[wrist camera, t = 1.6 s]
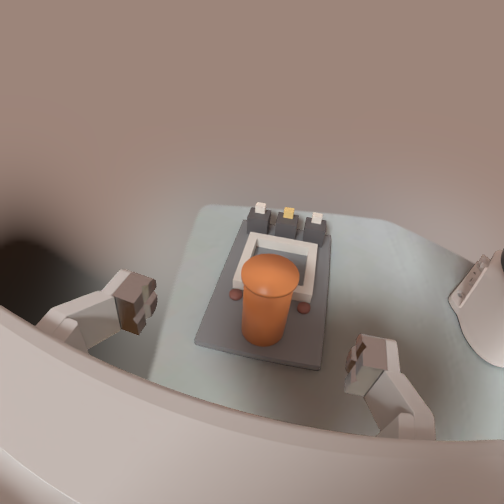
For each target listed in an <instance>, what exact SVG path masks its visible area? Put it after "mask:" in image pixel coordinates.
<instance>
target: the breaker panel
mask: <svg viewBox="0 0 504 504" xmlns="http://www.w3.org/2000/svg"><path fill="white" fill-rule="evenodd" d="M293 214H294V208H287V207H285V209H284V213H282V212H279V214H278V218H277V221H276V225H272V224H270V217H271V210H266V204H265V203H259V202H257V204H256V208H253V207H252V208H251V210H250V212H249V215H248V217H247V220H243V222H242V224H241V227H240V229H239V231H238V234H237V236H236V239H235V241H234V243H233V246H232V248H231V251H230V253H229V255H228V258H227V260H226V263H225V265H224V268H223V270H222V272H221V275H220V277H219V280H218V282H217V285H216V287H215V290H214V292H213V294H212V297H211V299H210V302H209V304H208V307H207V309H206V312H205V314H204V317H203V319H202V322H201V324H200V327H199V329H198V332H197V334H196V337H195V339H194V341H195V345H199V346H203V347H207V348H211V349H215V350H219V351H223V352H227V353H232V354H236V355H241V356H245V357H250V358H254V359H259V360H264V361H269V362H274V363H279V364H284V365H289V366H295V367H301V368H306V369H312V370H319V368H320V366H321V358H322V349H323V339H324V329H325V318H326V306H327V292H328V278H329V261H330V240H331V235H325V232H326V221H325V220H322V214H320V213H315V212H313V215H312V218H309V217H307V218H306V223H305V228H304V230H299V229H296V228H297V223H298V217H299V215H293ZM260 254H276V255H280V256H283V257H285V258H287V259H289V260H290V261H291V262H293V263H294V264H295V266H296V267H297V269H298V271H299V276H300V277H299V282H298V285H297V287H296V289H295V290H294V291H293V295H292V299H291V303H290V308H289V312H288V316H287V320H286V325H285V329H284V333H283V336H282V338H281V339H280V340H279V341H278V342H277V343H276V344H274V345H271V346H267V347H261V346H256V345H253V344H251V343H250V342H248V341H247V340H246V339H245V338H244V336H243V334H242V329H241V327H242V309H243V291H244V284H243V282H242V279H241V270H242V267H243V265H244V263H245V262H246V261H247V260H248V259H250V258H251V257H253V256H256V255H260Z"/></svg>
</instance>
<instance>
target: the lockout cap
mask: <svg viewBox="0 0 504 504" xmlns="http://www.w3.org/2000/svg"><path fill="white" fill-rule="evenodd" d="M299 277H300V276H299V271H298V269H297V267H296V266H295V264H294V263H293V262H291V261H290V260H289V259H287V258H285V257H283V256H280V255H276V254H260V255H256V256H253V257H251V258H250V259H248V260H247V261H246V262H245V263H244V265H243V267H242V270H241V279H242V282H243V284H244V291H243V309H242V327H241V329H242V334H243V336H244V338H245V339H246V340H247V341H248V342H250V343H251V344H253V345H256V346H261V347H267V346H271V345H274V344H276V343H277V342H278V341H279V340H280V339H281V338H282V336H283V333H284V329H285V325H286V320H287V316H288V312H289V308H290V303H291V299H292V295H293V291H294V290H295V289H296V287H297V285H298V282H299Z"/></svg>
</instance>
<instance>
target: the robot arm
mask: <svg viewBox="0 0 504 504" xmlns="http://www.w3.org/2000/svg"><path fill="white" fill-rule="evenodd" d="M155 288H156V280H154V279H152V278H149V277H146V276H144V275H141V274H138V273H135V272H131V271H128V270H125V269H121V270H120V271H118V273H117V274H116V275H115V276H114V277H113V278H112V279H111V281H110V282H109V283H108V284H107V285H106V286H105V287H104V289H102V291H101V292H100V291H96V292H93V293H91V294H88V295H85V296H82V297H80V298H77V299H74V300H72V301H69V302H67V303H64V304H61V305H59V306H56V307H53V308H51V309H50V311H49V312H48V313H47V314H46V315H45V316H44V317H43V318H42V320H41V321H40V322H39V323H38V324H37V325H36V326H34V325H32V324H30V323H29V322H27V321H25V320H23V319H22V318H20V317H18V316H17V315H15V314H13V313H12V312H10V311H9V310H7V309H6V308H4V307H2V306H1V305H0V504H504V440H477V441H436V434H435V422H434V415H433V413H432V412H431V410H430V409H429V408H428V406H427V405H426V403H425V402H424V401H423V399H422V398H421V397H420V395H419V394H418V392H417V391H416V390H415V388H414V387H413V386H412V384H411V383H410V381H409V380H408V379H407V377H406V376H405V375H404V374H403V373H400V364H399V355H398V347H397V342H396V340H391V339H386V338H381V337H376V336H371V335H366V334H359V335H358V337H357V339H356V345H355V346H353V347H352V348H351V350H350V352H349V354H348V357H347V361H346V371H347V373H348V375H347V377H346V378H345V393H349V394H354V395H359V396H364V399H365V401H366V403H367V405H368V407H369V409H370V411H371V413H372V415H373V417H374V419H375V421H376V423H377V425H378V427H379V429H380V431H381V432H380V433H379V434H378V435H377V436H375V437H374V436H365V435H357V434H350V433H343V432H336V431H330V430H324V429H318V428H313V427H307V426H302V425H297V424H292V423H288V422H283V421H279V420H274V419H270V418H266V417H262V416H258V415H254V414H250V413H246V412H242V411H239V410H235V409H231V408H228V407H225V406H221V405H218V404H214V403H211V402H208V401H205V400H202V399H199V398H196V397H193V396H190V395H187V394H184V393H181V392H178V391H175V390H172V389H170V388H167V387H164V386H161V385H159V384H156V383H154V382H151V381H148V380H146V379H143V378H141V377H138V376H136V375H133V374H131V373H129V372H126V371H124V370H122V369H119V368H117V367H115V366H112V365H110V364H108V363H106V362H104V361H101V360H99V359H97V358H95V357H93V356H91V355H89V353H88V350H87V349H89V348H91V347H92V346H94V345H96V344H98V343H100V342H101V341H103V340H105V339H106V338H108V337H110V336H112V335H113V334H115V333H117V332H119V331H120V330H121V329H122V330H125V331H128V332H130V333H133V334H136V335H140V333H141V332H142V330H143V329H144V327H145V326H146V319H147V318H150V317H151V316H152V314H153V313H154V311H155V309H156V306H157V295H156V293H155V292H154V290H155ZM448 300H449V303H450V305H451V307H452V308H453V310H454V311H455V313H456V314H457V316H458V319H459V322H460V326H461V329H462V332H463V334H464V336H465V338H466V340H467V341H468V343H469V344H470V346H471V347H472V348H473V350H474V351H475V352H476V353H477V354H478V355H479V356H480V357H481V358H483V359H484V360H485V361H487V362H488V363H490V364H492V365H495V366H498V367H503V368H504V249H503V250H498V251H496V252H495V253H494V255H493V257H492V258H491V260H490V259H488V257H486V256H485V255H482V256H481V258H480V260H479V261H477V262H476V264H475V265H474V266H473V268H472V269H471V270H470V272H469V273H468V274H467V275H466V277H465V278H464V279H463V281H462V282H461V283H460V284H459V286H458V287H457V288H456V289H455V291H454V292H453V293H452V294H451V295H450V297H449V299H448Z"/></svg>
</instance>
